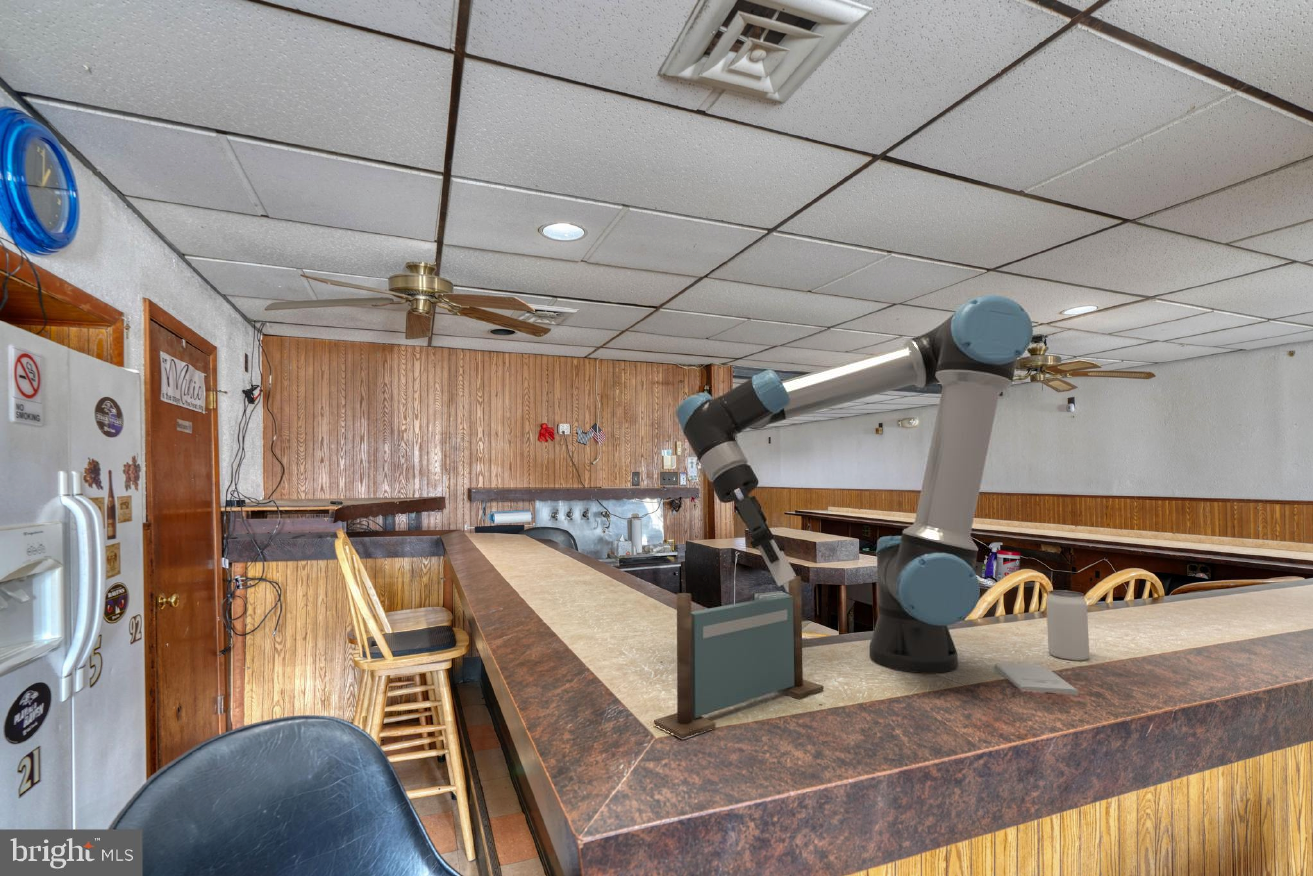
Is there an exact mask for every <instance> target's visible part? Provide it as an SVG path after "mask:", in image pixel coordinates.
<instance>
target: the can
mask: <svg viewBox="0 0 1313 876" xmlns="http://www.w3.org/2000/svg"><path fill="white" fill-rule="evenodd" d="M1045 605H1046V624H1047V627H1046V628H1047V647H1048V653H1049V654H1050V656H1052V657H1054V658H1056V659H1060V660H1066V661H1073V662H1085V661H1087V660H1088V659H1089V658H1090V645H1089V643H1090V642H1089V624H1088V623H1089V622H1088V606H1087V605H1088V604H1087V601H1086V600H1085V598H1084V593H1082V592H1078V591H1071V590H1065V589H1064V590H1063V589H1062V590H1061V589H1054V590H1053V589H1052V590H1048V595H1047V598H1046V604H1045Z"/></svg>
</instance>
